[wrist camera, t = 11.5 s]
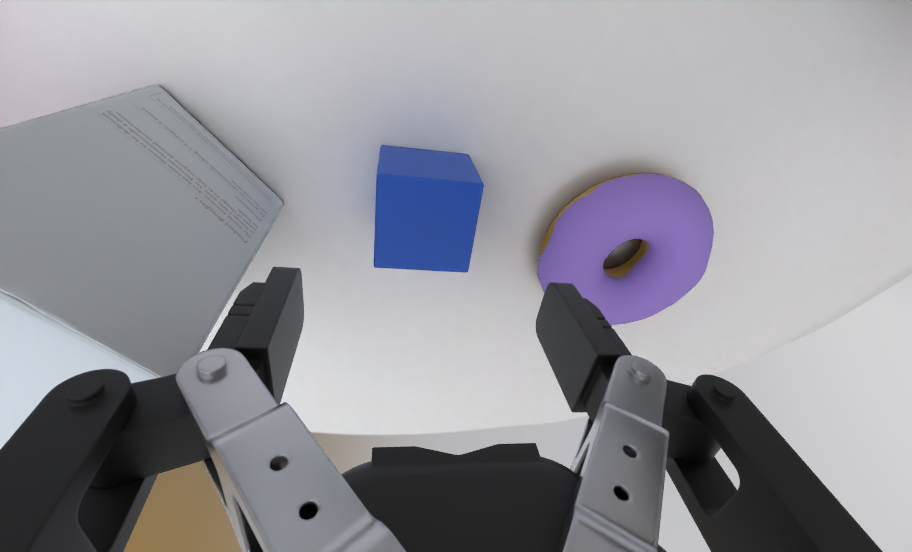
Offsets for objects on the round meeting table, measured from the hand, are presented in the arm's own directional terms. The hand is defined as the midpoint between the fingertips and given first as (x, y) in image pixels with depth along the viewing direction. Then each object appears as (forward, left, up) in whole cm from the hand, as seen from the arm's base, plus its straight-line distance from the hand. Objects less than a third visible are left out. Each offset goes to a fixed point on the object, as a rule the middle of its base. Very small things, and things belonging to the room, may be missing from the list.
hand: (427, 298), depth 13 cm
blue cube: (0, 0, -10) cm, 10 cm away
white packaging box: (+12, +1, -10) cm, 16 cm away
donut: (-12, +2, -10) cm, 16 cm away
